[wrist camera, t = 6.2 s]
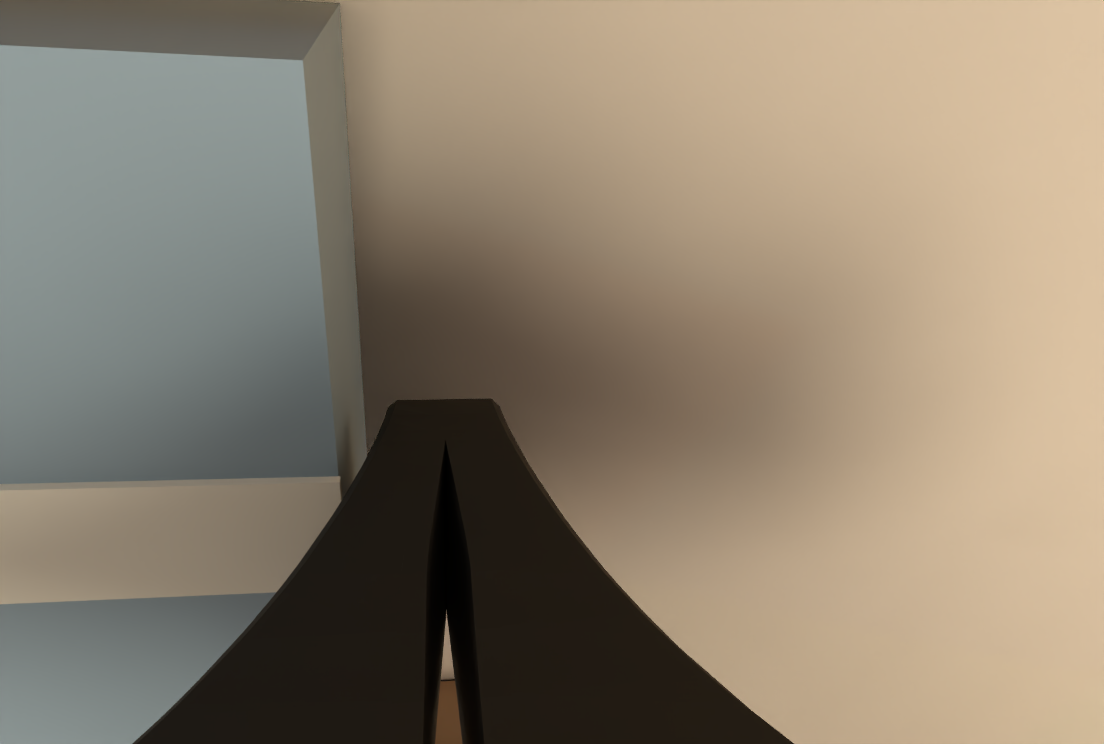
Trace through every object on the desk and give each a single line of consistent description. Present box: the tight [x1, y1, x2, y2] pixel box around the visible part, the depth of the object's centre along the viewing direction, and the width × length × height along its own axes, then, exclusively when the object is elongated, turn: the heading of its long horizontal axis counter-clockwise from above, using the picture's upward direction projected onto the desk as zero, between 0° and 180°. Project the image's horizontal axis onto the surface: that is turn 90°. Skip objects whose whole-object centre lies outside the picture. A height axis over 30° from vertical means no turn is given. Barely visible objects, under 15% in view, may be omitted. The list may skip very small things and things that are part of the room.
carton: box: [0, 0, 367, 744], centre depth 10 cm, size 10×8×4 cm
